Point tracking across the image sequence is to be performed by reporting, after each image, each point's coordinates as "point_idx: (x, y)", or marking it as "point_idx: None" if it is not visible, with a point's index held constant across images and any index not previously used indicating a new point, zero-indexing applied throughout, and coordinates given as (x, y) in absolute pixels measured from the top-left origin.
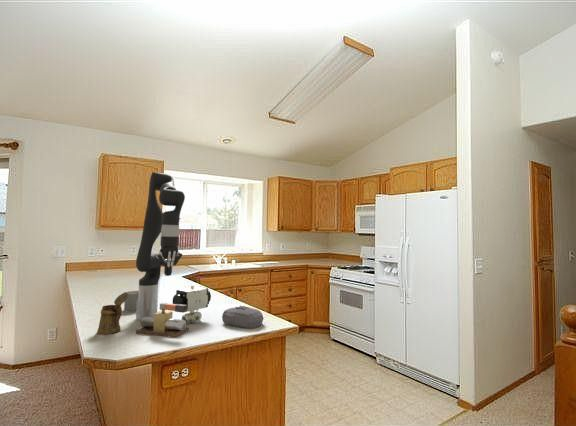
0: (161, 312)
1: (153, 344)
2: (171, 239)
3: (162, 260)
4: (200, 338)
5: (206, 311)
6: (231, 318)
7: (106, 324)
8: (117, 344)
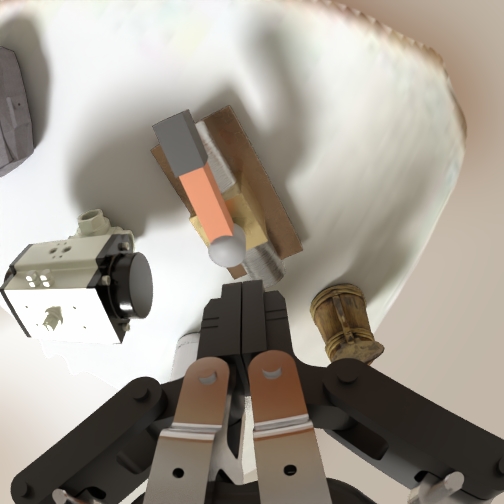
0: None
1: (325, 93)
2: None
3: (424, 422)
4: (172, 35)
5: None
6: (17, 100)
7: (362, 307)
8: (389, 182)
